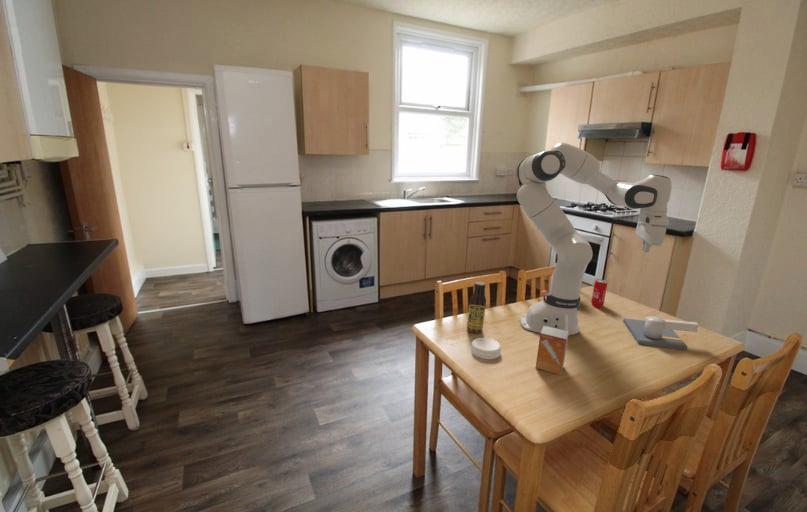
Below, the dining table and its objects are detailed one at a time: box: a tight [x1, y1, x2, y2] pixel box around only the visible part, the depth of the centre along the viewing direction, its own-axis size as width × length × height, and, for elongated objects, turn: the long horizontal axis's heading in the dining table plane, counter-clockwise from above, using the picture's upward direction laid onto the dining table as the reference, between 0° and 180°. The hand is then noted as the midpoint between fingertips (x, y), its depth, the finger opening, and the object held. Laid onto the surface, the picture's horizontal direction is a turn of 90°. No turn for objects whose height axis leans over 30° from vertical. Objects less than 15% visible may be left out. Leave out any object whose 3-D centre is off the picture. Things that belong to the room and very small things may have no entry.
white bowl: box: [471, 337, 502, 360], centre depth 135 cm, size 10×10×4 cm
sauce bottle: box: [466, 281, 487, 334], centre depth 149 cm, size 6×6×20 cm
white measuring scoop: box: [643, 315, 699, 339], centre depth 145 cm, size 17×6×6 cm, turn 78°
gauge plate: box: [622, 317, 688, 351], centre depth 151 cm, size 16×20×2 cm
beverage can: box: [591, 279, 608, 308], centre depth 178 cm, size 5×5×12 cm
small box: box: [535, 326, 570, 376], centre depth 125 cm, size 8×6×13 cm
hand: (645, 251), depth 154 cm, fingers closed
